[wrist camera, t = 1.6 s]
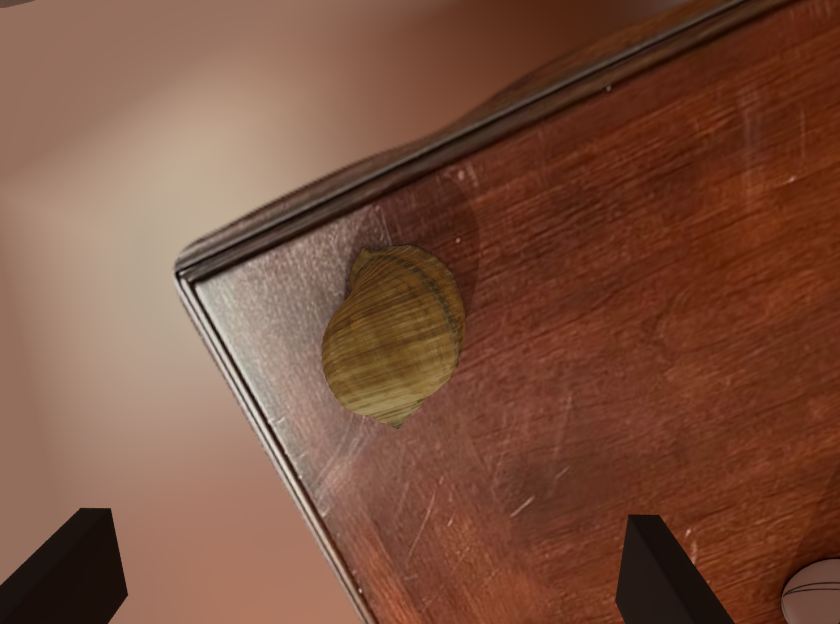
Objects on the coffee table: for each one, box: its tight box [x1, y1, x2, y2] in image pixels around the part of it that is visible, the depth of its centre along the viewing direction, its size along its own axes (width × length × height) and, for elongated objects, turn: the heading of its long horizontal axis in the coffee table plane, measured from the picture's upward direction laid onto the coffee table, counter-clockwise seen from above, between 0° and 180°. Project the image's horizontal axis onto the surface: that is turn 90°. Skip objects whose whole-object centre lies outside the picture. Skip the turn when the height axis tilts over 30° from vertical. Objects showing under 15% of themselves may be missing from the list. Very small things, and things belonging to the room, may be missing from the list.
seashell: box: [322, 245, 467, 429], centre depth 25 cm, size 10×7×8 cm
